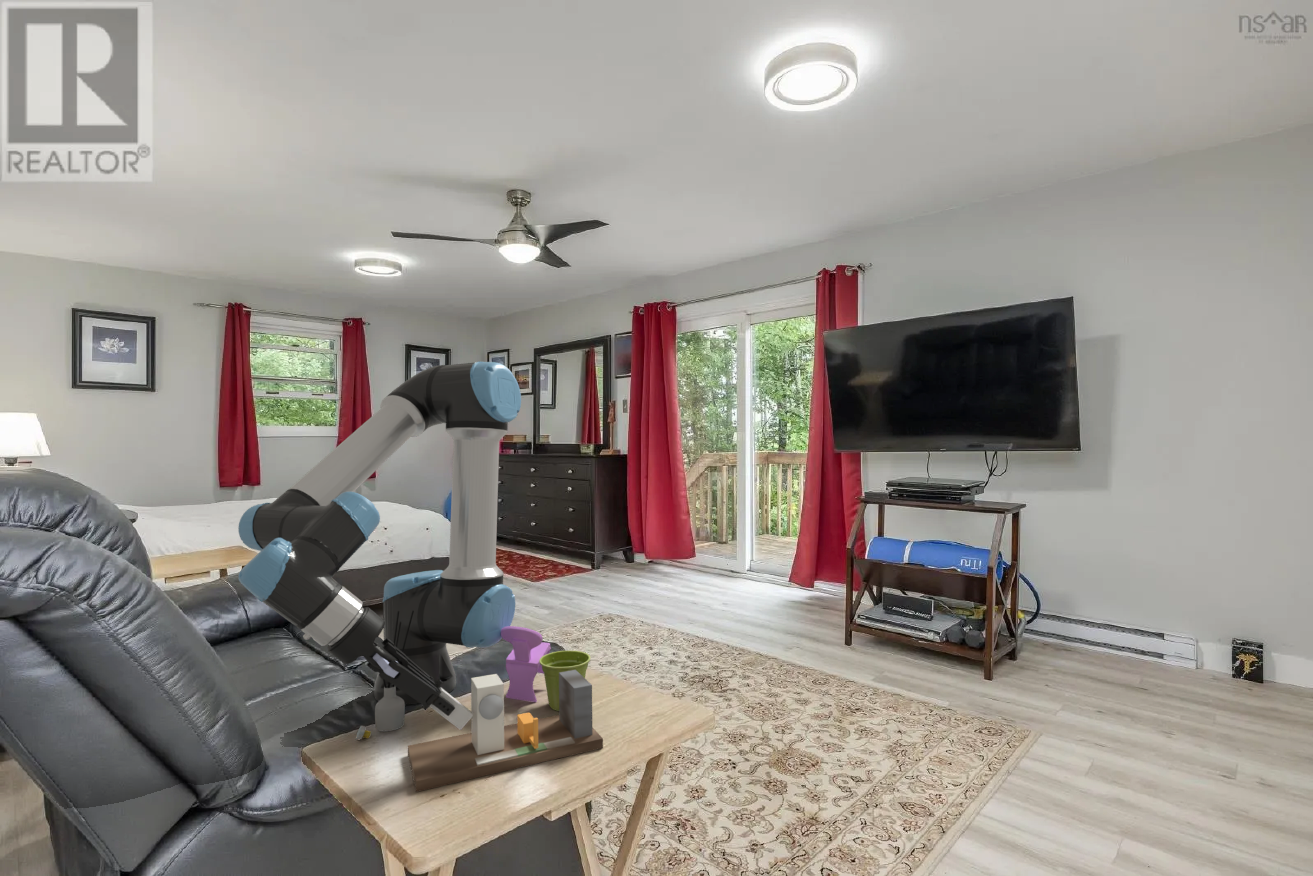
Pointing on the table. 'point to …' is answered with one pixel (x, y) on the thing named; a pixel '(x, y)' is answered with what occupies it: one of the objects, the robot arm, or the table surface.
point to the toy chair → (523, 661)
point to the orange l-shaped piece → (528, 728)
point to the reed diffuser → (388, 703)
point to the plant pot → (561, 670)
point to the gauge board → (511, 742)
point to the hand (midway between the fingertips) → (466, 720)
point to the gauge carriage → (487, 713)
